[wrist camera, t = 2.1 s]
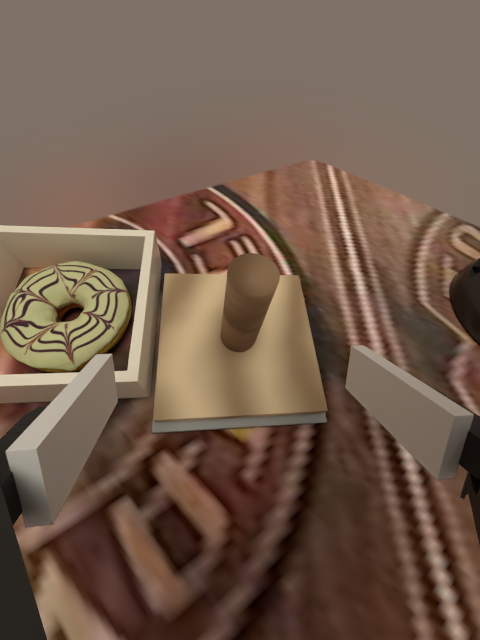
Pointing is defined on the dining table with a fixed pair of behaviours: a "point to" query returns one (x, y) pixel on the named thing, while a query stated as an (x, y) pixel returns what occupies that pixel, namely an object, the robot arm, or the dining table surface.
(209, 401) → the oak cover
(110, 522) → the dining table surface
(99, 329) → the decorated donut
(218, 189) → the dining table surface
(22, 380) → the wooden box
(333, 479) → the dining table surface
